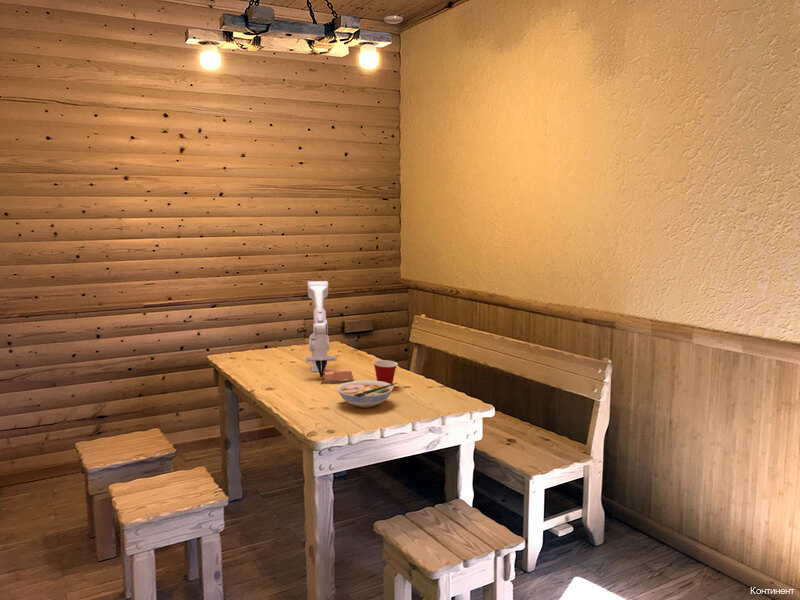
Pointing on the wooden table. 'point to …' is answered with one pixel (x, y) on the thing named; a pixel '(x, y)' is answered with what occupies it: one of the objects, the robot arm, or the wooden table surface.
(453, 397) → the wooden table surface
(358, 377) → the wooden table surface
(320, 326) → the robot arm
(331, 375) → the t block
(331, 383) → the frame
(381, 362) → the plastic cup
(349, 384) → the ramen bowl
